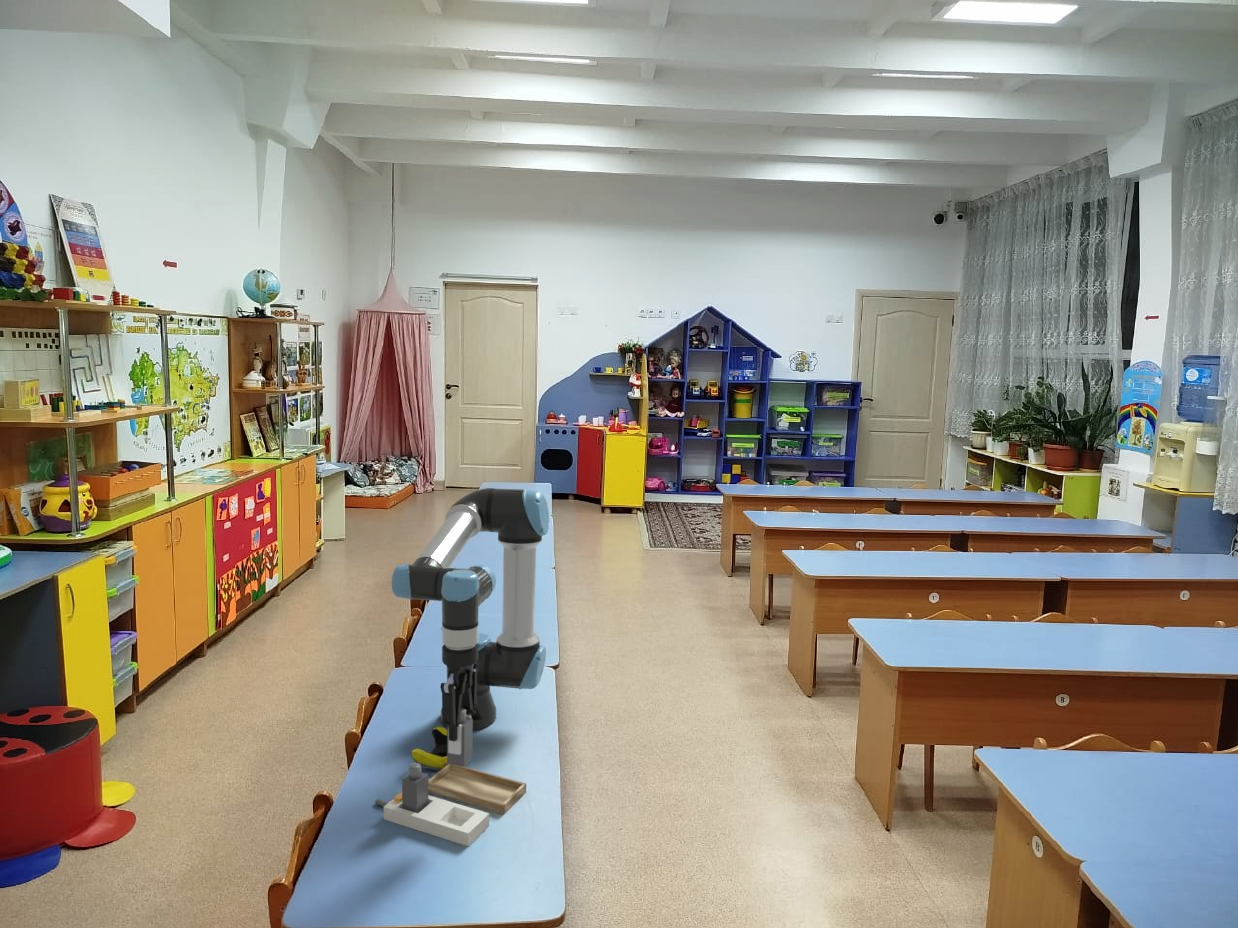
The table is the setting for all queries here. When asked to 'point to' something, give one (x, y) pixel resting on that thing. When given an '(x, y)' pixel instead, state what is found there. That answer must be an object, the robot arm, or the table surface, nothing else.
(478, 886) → the table surface
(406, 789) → the twin plug
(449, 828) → the strip
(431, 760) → the gaming controller
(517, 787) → the tray
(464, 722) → the plug
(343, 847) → the table surface
